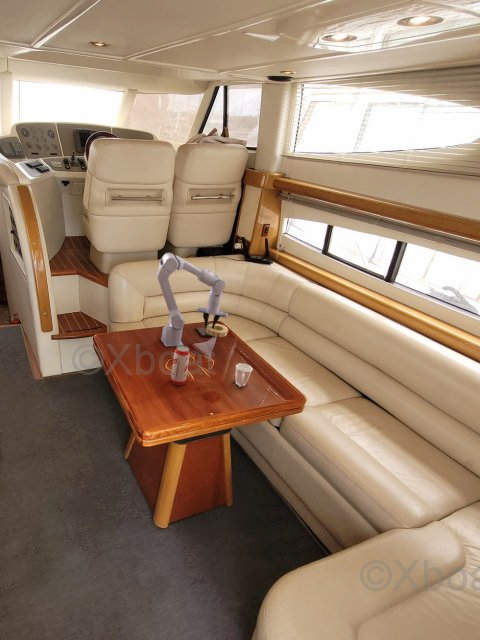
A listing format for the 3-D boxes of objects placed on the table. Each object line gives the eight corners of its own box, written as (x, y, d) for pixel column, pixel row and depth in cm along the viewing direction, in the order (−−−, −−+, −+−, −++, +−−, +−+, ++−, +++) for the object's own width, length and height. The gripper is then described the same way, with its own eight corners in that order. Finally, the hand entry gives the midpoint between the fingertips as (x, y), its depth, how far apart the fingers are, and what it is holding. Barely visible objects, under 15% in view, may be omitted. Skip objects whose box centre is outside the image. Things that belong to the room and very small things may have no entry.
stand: (202, 337, 201) (204, 327, 198) (195, 329, 209) (197, 320, 206) (218, 336, 204) (219, 326, 201) (211, 329, 211) (212, 319, 208)
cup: (248, 381, 167) (253, 365, 163) (248, 393, 158) (252, 376, 154) (232, 377, 168) (236, 361, 164) (231, 389, 159) (235, 373, 155)
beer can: (185, 379, 164) (190, 345, 156) (185, 387, 158) (190, 353, 150) (170, 377, 164) (175, 343, 156) (170, 385, 159) (174, 351, 151)
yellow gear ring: (211, 337, 184) (212, 333, 183) (203, 328, 193) (203, 323, 192) (230, 336, 187) (231, 332, 186) (221, 327, 196) (222, 323, 195)
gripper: (230, 302, 185) (225, 328, 192) (201, 296, 189) (197, 322, 196) (228, 307, 179) (222, 333, 186) (198, 301, 183) (193, 327, 190)
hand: (209, 328), depth 190 cm, fingers closed on yellow gear ring, 3 cm apart
